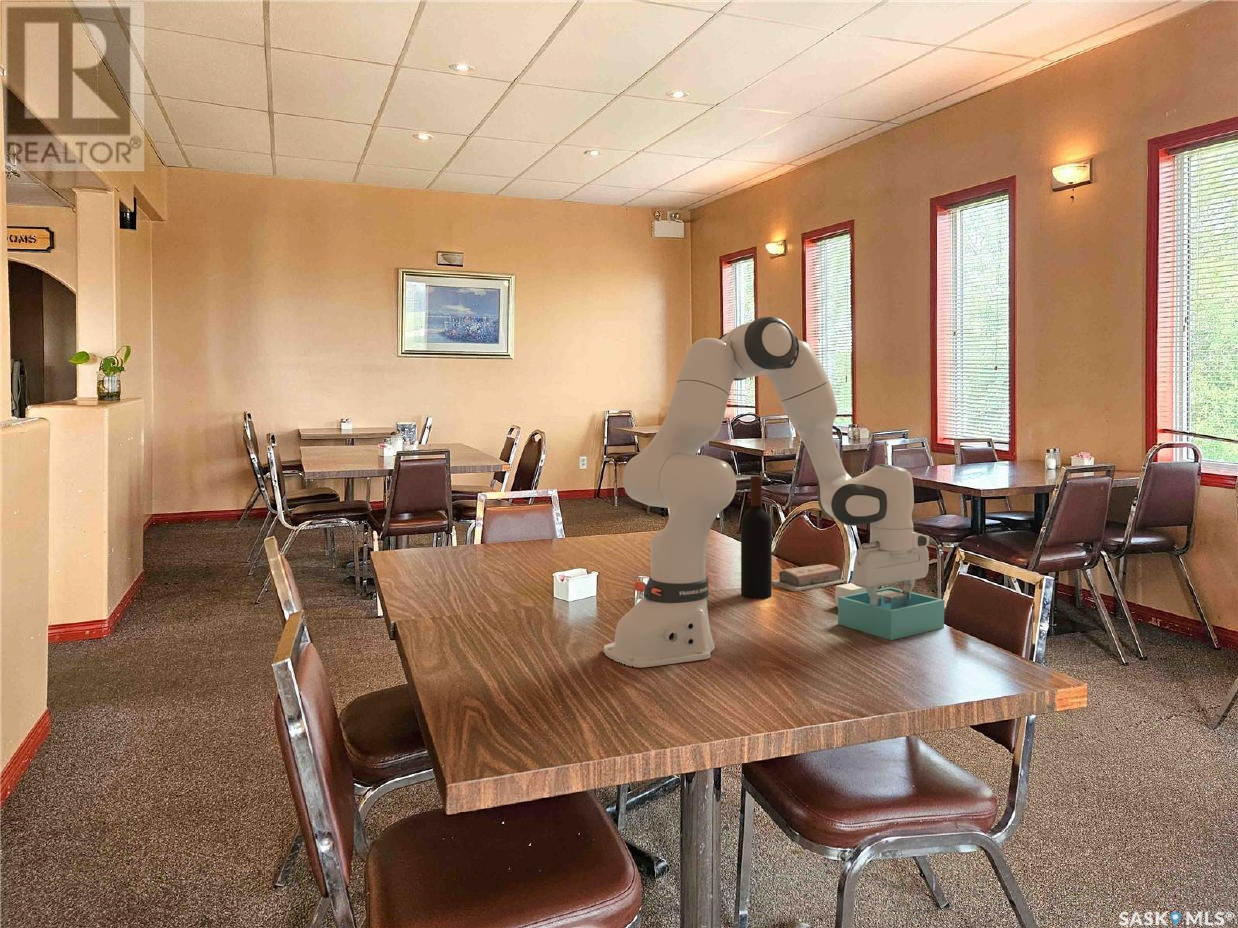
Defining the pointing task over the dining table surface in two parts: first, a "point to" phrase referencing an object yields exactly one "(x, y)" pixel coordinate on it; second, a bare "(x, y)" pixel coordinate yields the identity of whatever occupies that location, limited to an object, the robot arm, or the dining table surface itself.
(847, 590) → the cream box
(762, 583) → the wine bottle
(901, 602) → the steel block
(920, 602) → the box
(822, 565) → the packaged product
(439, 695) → the dining table surface
